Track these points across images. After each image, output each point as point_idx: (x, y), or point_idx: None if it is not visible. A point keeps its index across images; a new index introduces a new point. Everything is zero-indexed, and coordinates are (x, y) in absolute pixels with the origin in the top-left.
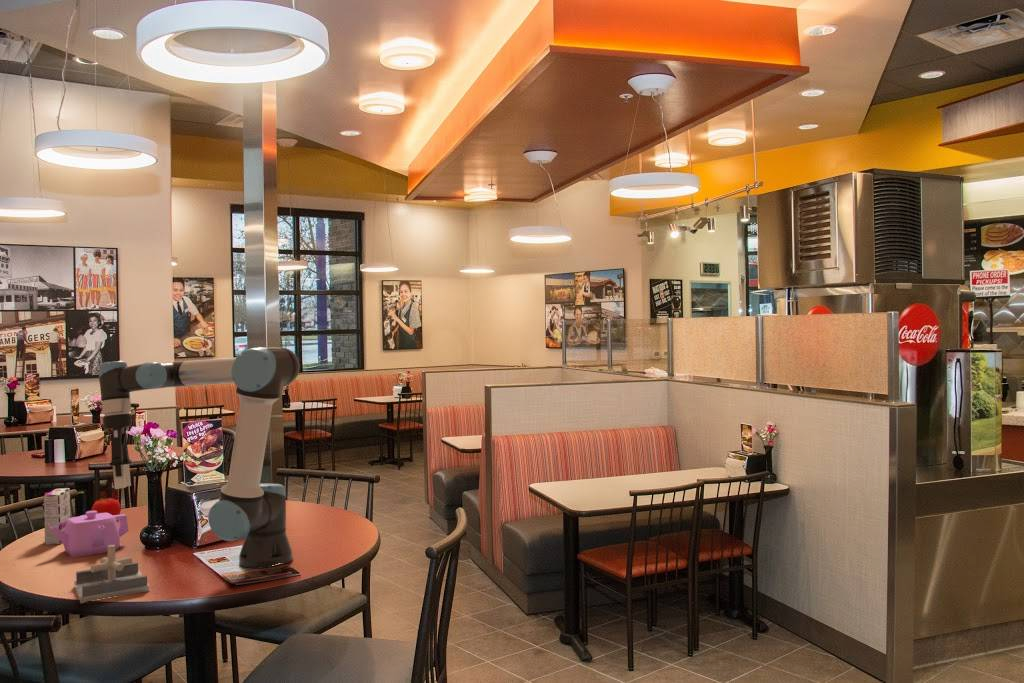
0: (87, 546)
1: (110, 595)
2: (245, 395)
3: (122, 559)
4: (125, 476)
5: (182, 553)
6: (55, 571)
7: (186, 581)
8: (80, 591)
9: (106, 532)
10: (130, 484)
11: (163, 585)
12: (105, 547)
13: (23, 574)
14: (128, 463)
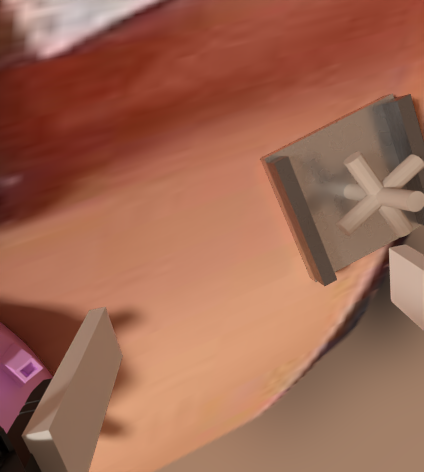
0: (39, 376)
1: None
2: None
3: (373, 173)
4: (95, 373)
5: (48, 93)
6: (182, 370)
7: (334, 17)
8: (390, 237)
9: None
10: (102, 312)
11: (350, 72)
12: (9, 336)
13: (193, 424)
14: (12, 447)
